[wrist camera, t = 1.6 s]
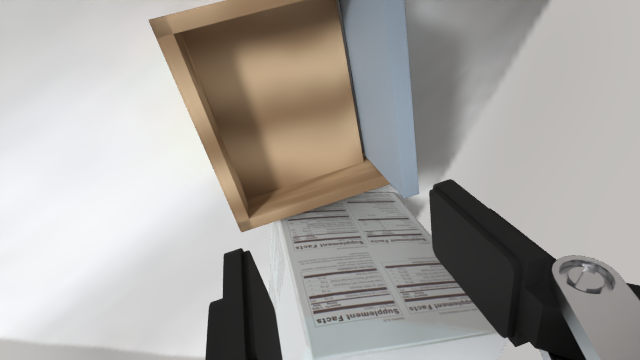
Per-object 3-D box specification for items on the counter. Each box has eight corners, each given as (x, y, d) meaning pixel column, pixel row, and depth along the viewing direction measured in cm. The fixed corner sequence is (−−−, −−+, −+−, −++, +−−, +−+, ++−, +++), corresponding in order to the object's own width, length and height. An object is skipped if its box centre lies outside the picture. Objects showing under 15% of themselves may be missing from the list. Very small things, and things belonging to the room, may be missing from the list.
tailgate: (338, -6, 24) (381, -11, 17) (358, -12, 24) (409, -18, 17) (364, 155, 31) (403, 198, 24) (381, 150, 31) (424, 192, 24)
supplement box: (374, 284, 41) (458, 446, 26) (266, 295, 38) (291, 488, 23) (396, 190, 35) (520, 329, 20) (271, 193, 32) (308, 362, 17)
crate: (163, 17, 23) (148, 19, 19) (345, -30, 25) (370, -37, 20) (239, 201, 31) (241, 232, 27) (374, 158, 33) (395, 181, 28)
